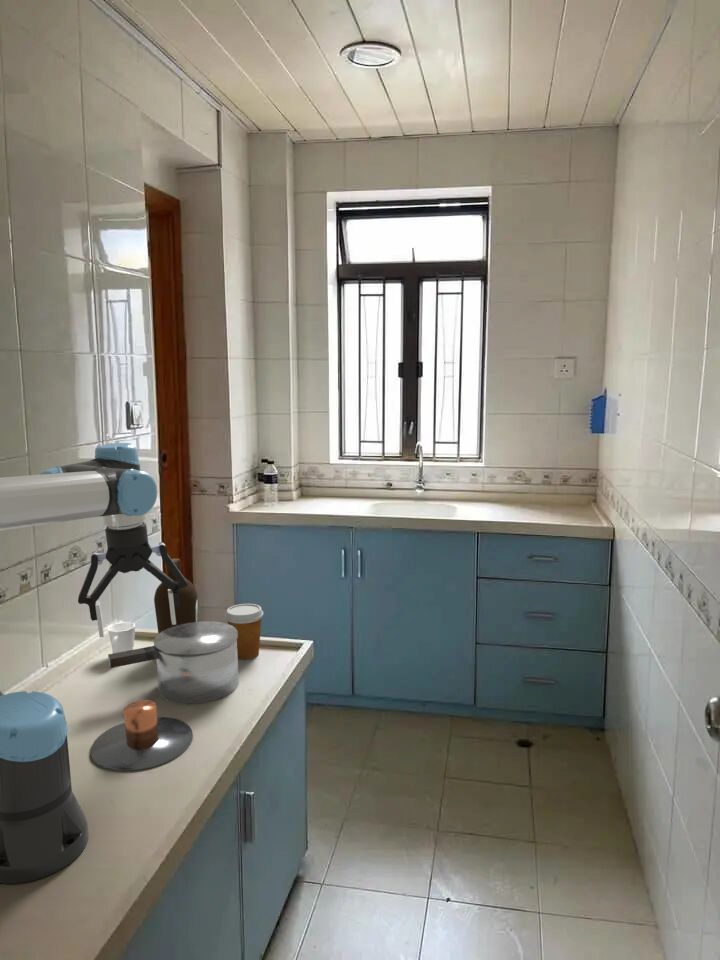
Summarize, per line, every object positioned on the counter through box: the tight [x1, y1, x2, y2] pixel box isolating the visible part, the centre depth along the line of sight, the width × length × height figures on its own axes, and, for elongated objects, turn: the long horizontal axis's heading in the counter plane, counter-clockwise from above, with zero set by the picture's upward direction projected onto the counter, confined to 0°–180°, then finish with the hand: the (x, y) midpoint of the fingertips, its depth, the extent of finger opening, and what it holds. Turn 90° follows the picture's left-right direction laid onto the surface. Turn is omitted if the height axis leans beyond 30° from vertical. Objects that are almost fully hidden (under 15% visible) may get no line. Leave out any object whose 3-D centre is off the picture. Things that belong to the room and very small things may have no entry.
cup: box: [107, 621, 136, 654], centre depth 179 cm, size 7×10×8 cm
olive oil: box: [153, 558, 199, 635], centre depth 179 cm, size 11×11×25 cm
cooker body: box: [107, 620, 240, 705], centre depth 160 cm, size 28×19×12 cm, turn 116°
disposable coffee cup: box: [224, 603, 264, 660], centre depth 180 cm, size 10×10×12 cm
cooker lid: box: [90, 699, 194, 772], centre depth 138 cm, size 19×19×8 cm
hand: (138, 628), depth 140 cm, fingers open, 13 cm apart
